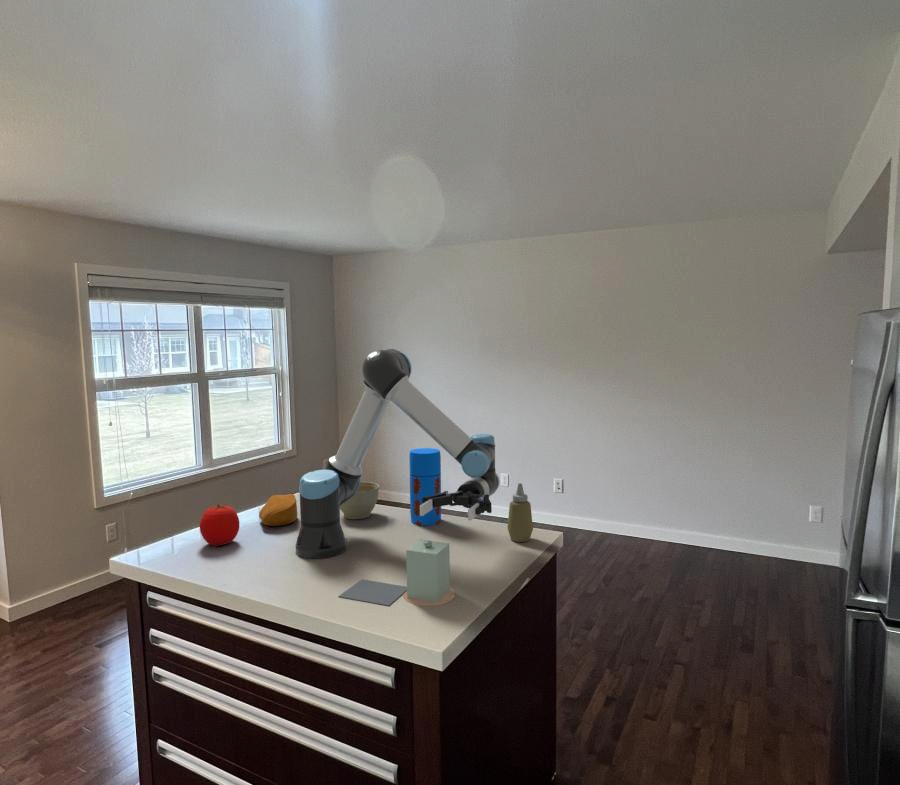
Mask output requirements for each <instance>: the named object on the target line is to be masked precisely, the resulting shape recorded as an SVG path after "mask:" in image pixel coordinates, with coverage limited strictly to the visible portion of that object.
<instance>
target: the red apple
mask: <svg viewBox="0 0 900 785" xmlns="http://www.w3.org/2000/svg"><path fill="white" fill-rule="evenodd" d="M239 531H240V518H239V516H238V513H237V511H236V510H235V508H233V507H231V506H229V505H227V504H226V505H225V504H219V503H218V504H215V505H213V506H210V507H207V509H206V510H205V511H204V512H203V513H202V516H201V518H200V521H199V532H200V534H201V537H202V538H203V540H204V541H205V542H206V543H207V544H208V545H211V546H215V547H218V546H223V545H226V544H229V543H231V542H233V541H234V539H236V537H237V536H238V534H239Z"/></svg>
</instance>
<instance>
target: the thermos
mask: <svg viewBox="0 0 900 785" xmlns="http://www.w3.org/2000/svg"><path fill="white" fill-rule="evenodd" d="M408 455H409V460H408V462H409V500H410V501H409V509H410V510H409V511H410V522H411V524H413V525H415V524H416V525H415V526H420V525H430V526H435V525H439V524H440V523H441V521H442V506H440V507H434V508H433V509H432V510H431V511H429V512H428V513H426V514H425V515H423V516H420V505H422V498H423V497H427V496H431V495H435V494H439V493H442V472H441V471H442V469H441V467H442V464H441V463H442V462H441V461H442V460H441V459H442V457H441V451H440V449H438V448H432V447H428V448H427V447H422V448H413V449H411V450H409V454H408ZM434 524H435V525H434Z"/></svg>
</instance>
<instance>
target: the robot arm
mask: <svg viewBox="0 0 900 785" xmlns="http://www.w3.org/2000/svg"><path fill="white" fill-rule="evenodd" d="M361 368H362V369H361V372H362V376H363V383H362V384H363V386H364V389H365V390H364V391H363V393H362V396H361V397H360V398H361V399H360V401H359V403H358V405H357V408H356V410H355V412H354V414H353V416H352V418H351V420H350V423H349V425H348V427H347V430H346V432H345V433H344V436H343V438H342V441H341V443H340V445H339V448H338V450H337V452H336V454H335V455H332V456H331V457H329V458H328V460H327V463H326V465H325V468H324V469H317V470H314V471H309V472H307V473H305V474H303V475H302V476H301V478H300V479H299V487H298V491H299V492H298V493H299V507H300V509H299V512H300V529H299V532H298V535H297V537H296V538H297V539H296V542H295V554H296V556H299V557H302V558H306V559H326V558H330V557H334V556H338V555H341V554H342V553H344V552H345V551H346V550H347V539H346V537H345V533H344V530H343V527H342V525H341V510H340V505H342V504H343V503H344V502H346V501H348V500H349V499H351V498H352V497H353V496H354V495H355V494H356V492H357V490H358V488H359V485H360V482H361V480H360V479H361V477H362V475H363V468H362V463H363V461H364V459H365V457H366V455H367V453H368V450H369V448H370V445H371V444H372V441H373V439H374V437H375V435H376V433H377V430H378V429H379V426H380V424H381V421H382V419H383V417H384V415H385V414H386V410H387V408H388V406H389V404H390V402H392V403H393V404H394V405H395V406H396V407H398V409H400V410H401V411H402V412H403V413H404V414H405V415H406V416H407V417H409V419H411V421H413V422H414V423H415V424H416V425H417V426H418V427H420V429H422V431H424V432H425V433H426V434H427V435H428V436H429V437H430V438H431V439H432V440H434V442H436V443H437V444H438V445H439V446H440V447H441V448H442V449H443V450H445V452H447V453H448V454H449V455H450V456H451V457H452V458H453V459H455V460H456V462H458V463H459V465H460V466H461V470H463V473H464V474H465V475H467V476H468V477H470V478H469V479H468V480H466V481H465V482H464V483H462V484H461V485H460V486H459V487H457V490H456V491H454V492H450V493H449V491H448V490H445V491H441V493H439V494H435V495H431V496H427V497H423V498H422V505H420V516H423V515H425V514H426V513H428V512H429V511H431V510H432V509H433V508H434V507H440V506H441V507H445V506H450V507H453V506H454V507H456V506H459V507H460V506H462V507H463V508H465V509H467V520H468V521H472V520H473V519H474V518H476V517H477V516H480V515H481V514H484V513H485V512H486V513H488V514H492V513H493V512H492V501H491V500H490V497H492V496H493V495H494V494H495V493H496V491H497V490H498V489H499V486H500V484H501V483H500V482H501V481H500V477H499V476H498V473H497V472H496V444H495V436H494V435H492V434H489V433H478V434H477V433H476V434H472V435H471V436H469V435H468V434H467V433H466V432H465V431H464V430H463V429H462V428H460V427H459V426H458V425H457V424H456V423H455V422H454V421H453V420H452V419H451V418H450V417H448V415H446V414H445V413H444V412H443V411H442V410H441V409H439V407H437V406H436V405H435V404H434V403H433V402H432V401H431V400H430V399H429V398H427V396H425V395H424V393H422V392H421V391H420V390H419V389H418V388H416V387H415V386H414V385H413V384H412V382H410V381H409V380H410V379H409V378H411V374H412V363H411V360H410V359H409V357H408V356H407V355H406V354H405V353H404V352H402V351H400V350H398V349H395V348H388V349H377V350H375V351H372V352H370V353H369V354H368V355H367V356H366V357H365V359H364V360H363V363H362V366H361Z"/></svg>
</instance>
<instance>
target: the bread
mask: <svg viewBox="0 0 900 785" xmlns="http://www.w3.org/2000/svg"><path fill="white" fill-rule="evenodd" d="M258 516H259V519H260V521H261V522H262V524H264V525H266V526H270V527H280V526H286V525H290V524H291V523H294V522H295V521H296V520H297V518H298V505H297V499H296V496H295V494H293V493H288V494H273V495H271V496H270V497H269V498H267V501H266V503H265V504H264V505H263V507H261V509H260V511H259V512H258Z"/></svg>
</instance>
